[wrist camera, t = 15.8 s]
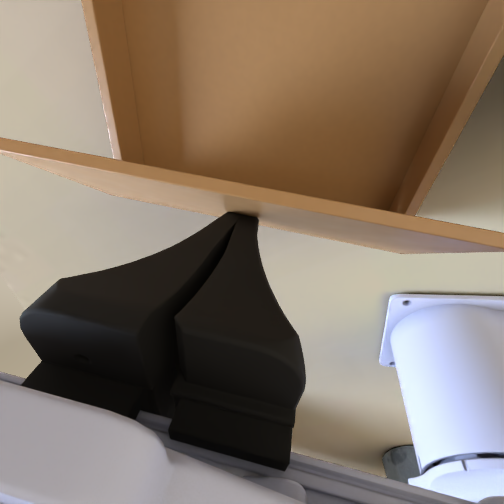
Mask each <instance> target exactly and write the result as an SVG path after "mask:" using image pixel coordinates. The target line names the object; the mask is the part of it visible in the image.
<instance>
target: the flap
mask: <svg viewBox="0 0 504 504" xmlns="http://www.w3.org/2000/svg"><path fill="white" fill-rule="evenodd" d="M0 154H3V155H5V156H8V157H11V158H14V159H16V160H19V161H22V162H24V163H27V164H30V165H32V166H35V167H38V168H40V169H43V170H46V171H49V172H51V173H54V174H57V175H59V176H62V177H65V178H67V179H70V180H73V181H75V182H78V183H81V184H84V185H86V186H89V187H92V188H94V189H97V190H100V191H102V192H105V193H108V194H110V195H114V196H119V197H124V198H129V199H134V200H138V201H143V202H148V203H153V204H158V205H163V206H168V207H173V208H178V209H183V210H188V211H193V212H198V213H203V214H207V215H212V216H217V217H221V216H222V215H223V214H225V213H227V212H233V213H238V214H243V215H248V216H253V217H257V218H258V219H259V225H262V226H267V227H272V228H277V229H281V230H286V231H291V232H296V233H301V234H306V235H311V236H316V237H321V238H326V239H331V240H336V241H341V242H346V243H350V244H355V245H360V246H365V247H370V248H375V249H380V250H385V251H390V252H395V253H400V254H418V253H466V252H504V233H501V232H496V231H491V230H486V229H480V228H475V227H470V226H464V225H459V224H454V223H449V222H443V221H438V220H433V219H428V218H422V217H417V216H412V215H406V214H401V213H396V212H391V211H385V210H380V209H375V208H370V207H364V206H359V205H354V204H348V203H343V202H338V201H333V200H327V199H322V198H317V197H312V196H306V195H301V194H296V193H290V192H285V191H280V190H275V189H269V188H264V187H259V186H254V185H248V184H243V183H238V182H232V181H227V180H222V179H217V178H211V177H206V176H201V175H196V174H190V173H185V172H180V171H174V170H169V169H164V168H159V167H153V166H148V165H143V164H138V163H132V162H127V161H122V160H116V159H111V158H106V157H101V156H95V155H90V154H85V153H80V152H74V151H69V150H64V149H58V148H53V147H48V146H43V145H37V144H32V143H27V142H22V141H16V140H11V139H6V138H0Z"/></svg>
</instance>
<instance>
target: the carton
mask: <svg viewBox="0 0 504 504" xmlns="http://www.w3.org/2000/svg"><path fill="white" fill-rule="evenodd" d="M81 2H82V7H83V11H84V16H85V21H86V26H87V31H88V36H89V40H90V45H91V50H92V55H93V60H94V65H95V70H96V74H97V79H98V84H99V89H100V94H101V99H102V103H103V108H104V113H105V118H106V123H107V128H108V132H109V137H110V142H111V147H112V152H113V157H114V159H116V160H122V161H127V162H132V163H138V164H143V165H148V166H153V167H159V168H164V169H169V170H174V171H180V172H185V173H190V174H196V175H201V176H206V177H211V178H217V179H222V180H227V181H232V182H238V183H243V184H248V185H254V186H259V187H264V188H269V189H275V190H280V191H285V192H290V193H296V194H301V195H306V196H312V197H317V198H322V199H327V200H333V201H338V202H343V203H348V204H354V205H359V206H364V207H370V208H375V209H380V210H385V211H391V212H396V213H401V214H406V215H412V216H415V215H416V213H417V211H418V210H419V208H420V206H421V204H422V202H423V201H424V199H425V197H426V195H427V193H428V191H429V190H430V188H431V186H432V184H433V182H434V181H435V179H436V177H437V175H438V173H439V172H440V170H441V168H442V166H443V164H444V162H445V161H446V159H447V157H448V155H449V153H450V152H451V150H452V148H453V146H454V144H455V143H456V141H457V139H458V137H459V135H460V134H461V132H462V130H463V128H464V126H465V124H466V123H467V121H468V119H469V117H470V115H471V114H472V112H473V110H474V108H475V106H476V105H477V103H478V101H479V99H480V97H481V95H482V94H483V92H484V90H485V88H486V86H487V85H488V83H489V81H490V79H491V77H492V76H493V74H494V72H495V70H496V68H497V66H498V65H499V63H500V61H501V59H502V57H503V56H504V0H81Z"/></svg>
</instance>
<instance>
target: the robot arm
mask: <svg viewBox="0 0 504 504" xmlns="http://www.w3.org/2000/svg"><path fill="white" fill-rule="evenodd" d="M258 225H259V219H258V218H257V217H253V216H248V215H243V214H238V213H233V212H227V213H225V214H223V215H222V216H221V217H219V218H218V219H216V220H215V221H213V222H212V223H211V224H209V225H208V226H206V227H205V228H203V229H202V230H200V231H199V232H197V233H195V234H194V235H192V236H190V237H189V238H187V239H185V240H183V241H182V242H180V243H178V244H176V245H174V246H172V247H170V248H167V249H165V250H163V251H161V252H158V253H156V254H153V255H151V256H148V257H145V258H142V259H140V260H137V261H134V262H131V263H128V264H124V265H121V266H117V267H114V268H110V269H106V270H102V271H98V272H93V273H88V274H83V275H78V276H73V277H68V278H62V279H60V280H58V281H57V282H56V283H55V284H54V285H53V286H52V287H50V288H49V289H48V290H47V291H46V292H45V293H44V294H43V295H41V296H40V297H39V298H38V299H37V300H36V301H35V302H34V303H33V304H31V305H30V306H29V307H28V308H27V309H26V310H25V311H24V312H23V313H22V315H21V316H20V327H21V330H22V332H23V334H24V335H25V337H26V338H27V340H28V341H29V343H30V344H31V346H32V347H33V349H34V350H35V351H36V353H37V354H38V356H39V357H40V359H41V360H42V361H41V363H40V364H39V365H38V366H37V367H36V368H35V369H34V371H33V372H32V373H31V374H30V375H29V376H28V377H27V378H26V379H25V378H21V377H18V376H14V375H11V374H7V373H3V372H0V504H504V296H473V295H429V294H394V295H392V296H391V297H390V299H389V304H388V310H387V316H386V321H385V327H384V333H383V339H382V345H381V351H380V356H379V361H380V364H381V365H383V366H389V367H396V369H397V373H398V378H399V382H400V387H401V391H402V395H403V400H404V404H405V409H406V413H407V418H408V422H409V426H410V431H411V435H412V440H413V444H414V448H415V453H416V457H417V462H418V466H419V470H420V475H421V476H419V477H415V478H409V479H408V482H409V484H406V483H402V482H399V481H395V480H391V479H388V478H384V477H381V476H377V475H373V474H370V473H366V472H362V471H359V470H355V469H352V468H348V467H344V466H341V465H337V464H333V463H330V462H326V461H323V460H319V459H315V458H312V457H308V456H304V455H301V454H297V453H294V452H291V439H292V428H293V427H294V423H295V412H296V407H297V405H298V402H299V400H300V398H301V396H302V394H303V392H304V389H305V384H306V374H305V364H304V358H303V353H302V348H301V343H300V339H299V336H298V334H297V333H296V331H295V330H294V328H293V327H292V326H291V324H290V323H289V321H288V319H287V318H286V316H285V315H284V313H283V311H282V309H281V308H280V306H279V304H278V302H277V300H276V298H275V296H274V294H273V292H272V290H271V288H270V285H269V283H268V280H267V278H266V275H265V272H264V269H263V266H262V262H261V258H260V253H259V248H258V240H257V232H258ZM406 300H409V301H406ZM404 301H405V302H404Z"/></svg>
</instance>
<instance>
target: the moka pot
mask: <svg viewBox="0 0 504 504" xmlns="http://www.w3.org/2000/svg"><path fill="white" fill-rule="evenodd" d="M382 461H383V465H384V469H385V473H386V476H387V478H388V479H391V480H395V481H399V482H402V483H406V484H409V482H408V479H409V478H415V477H419V476H421V475H420V470H419V466H418V462H417V457H416V453H415V448H414V446H402V447H397V448H394V449H391V450H390V451H388V452H387V453H385V455H384V456H383V459H382Z"/></svg>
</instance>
